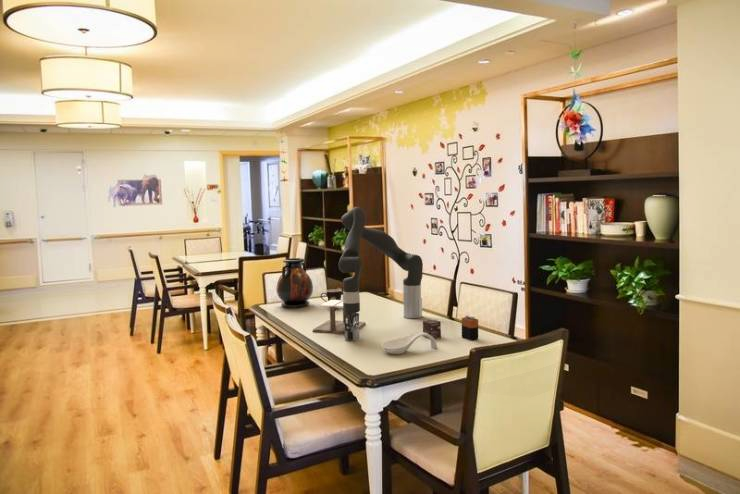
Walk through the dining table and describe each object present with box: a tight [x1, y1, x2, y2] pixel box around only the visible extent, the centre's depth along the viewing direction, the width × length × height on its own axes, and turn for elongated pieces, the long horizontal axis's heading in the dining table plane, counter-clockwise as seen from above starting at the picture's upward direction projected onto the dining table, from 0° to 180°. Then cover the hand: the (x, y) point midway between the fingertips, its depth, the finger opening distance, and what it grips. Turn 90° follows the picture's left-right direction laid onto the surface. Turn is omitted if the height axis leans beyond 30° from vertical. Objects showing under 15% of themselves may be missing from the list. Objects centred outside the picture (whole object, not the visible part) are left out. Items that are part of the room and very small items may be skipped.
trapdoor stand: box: [312, 306, 366, 335], centre depth 268 cm, size 20×20×13 cm
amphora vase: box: [276, 257, 314, 309], centre depth 324 cm, size 22×22×28 cm
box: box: [422, 319, 442, 339], centre depth 248 cm, size 6×6×7 cm
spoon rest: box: [381, 331, 438, 355], centre depth 227 cm, size 24×12×7 cm, turn 110°
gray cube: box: [344, 327, 360, 342], centre depth 247 cm, size 5×5×5 cm
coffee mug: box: [320, 288, 343, 310], centre depth 318 cm, size 12×9×10 cm
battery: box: [461, 315, 479, 342], centre depth 244 cm, size 4×7×10 cm, turn 31°
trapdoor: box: [319, 299, 343, 309], centre depth 267 cm, size 14×14×1 cm
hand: (352, 338), depth 247 cm, fingers closed on gray cube, 5 cm apart
